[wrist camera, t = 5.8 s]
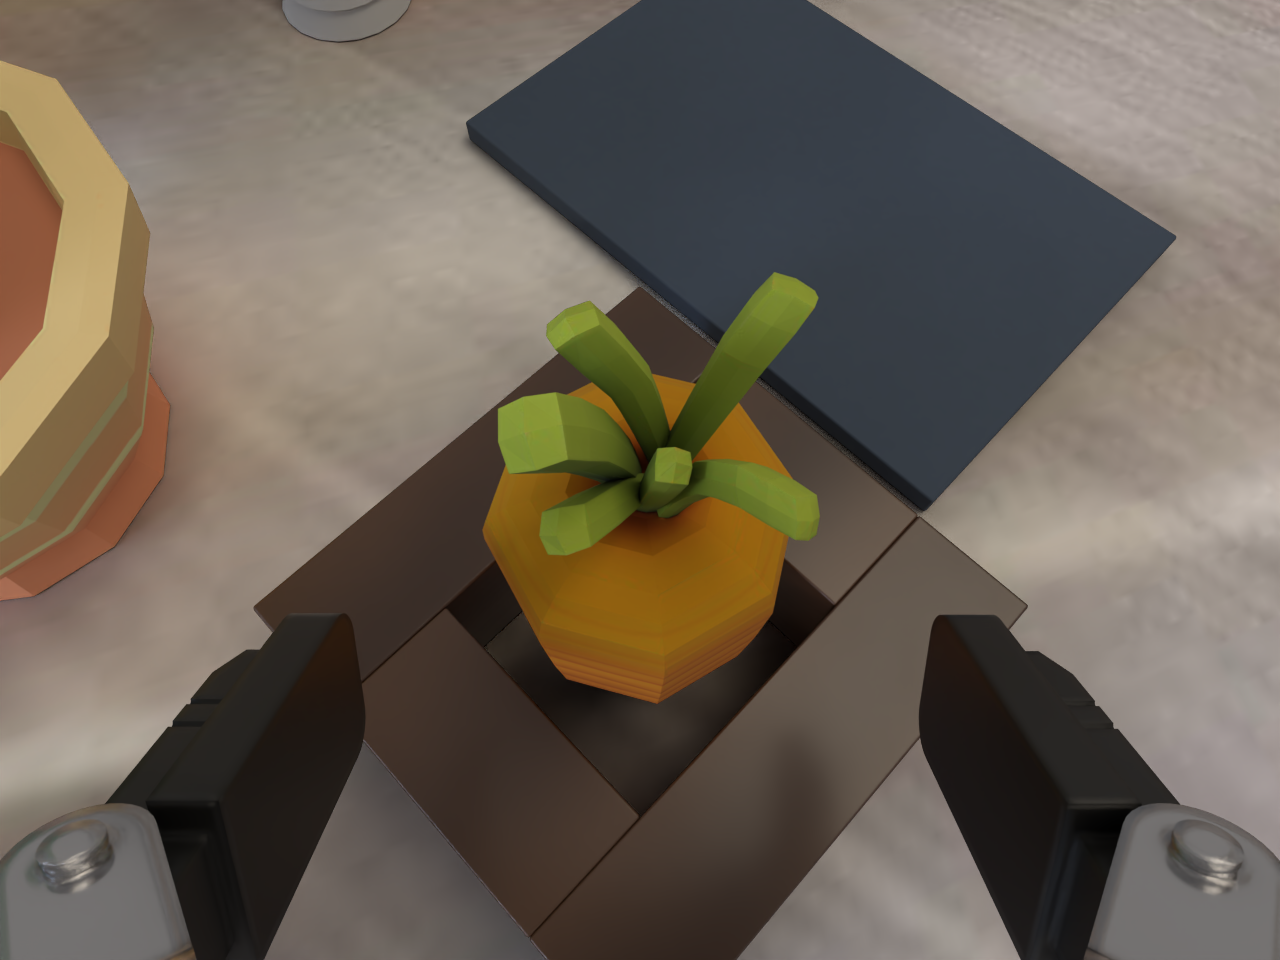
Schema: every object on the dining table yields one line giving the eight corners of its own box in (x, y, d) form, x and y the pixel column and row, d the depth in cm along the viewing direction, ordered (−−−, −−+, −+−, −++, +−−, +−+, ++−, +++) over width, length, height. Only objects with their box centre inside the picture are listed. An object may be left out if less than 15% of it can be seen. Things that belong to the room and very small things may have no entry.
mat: (469, 139, 29) (464, 121, 29) (718, -36, 33) (720, -56, 32) (923, 512, 24) (932, 502, 23) (1163, 252, 27) (1178, 236, 27)
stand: (323, 649, 22) (250, 606, 18) (639, 373, 26) (639, 284, 21) (640, 1021, 19) (641, 1074, 15) (956, 648, 22) (1030, 605, 18)
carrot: (716, 550, 23) (830, 135, 9) (748, 732, 21) (950, 542, 8) (539, 572, 23) (393, 177, 9) (556, 758, 21) (401, 613, 7)
